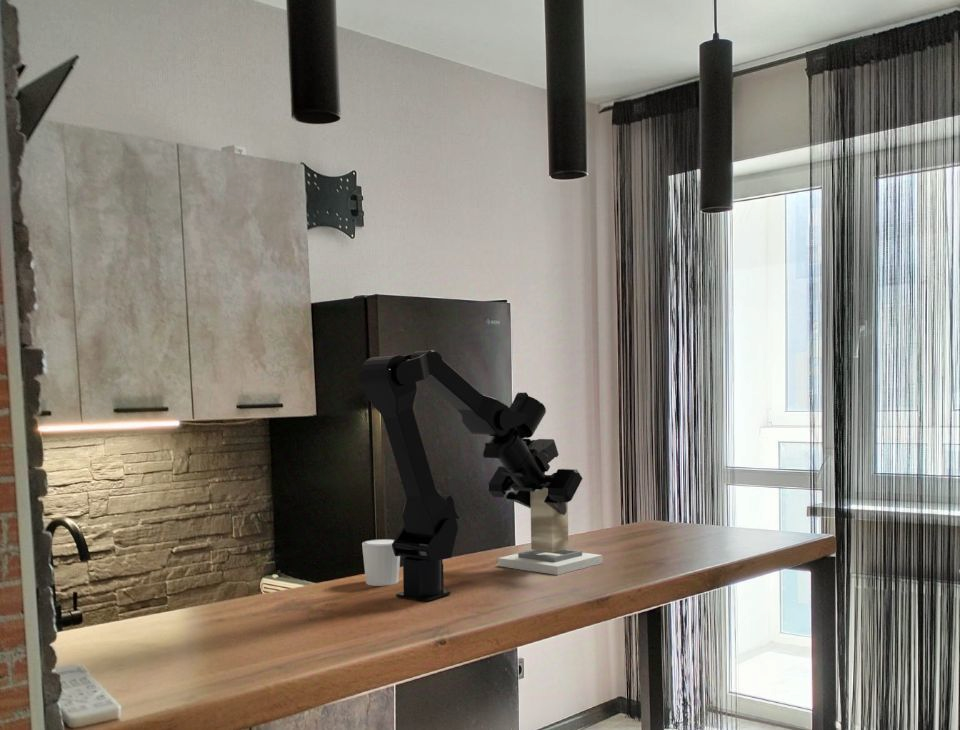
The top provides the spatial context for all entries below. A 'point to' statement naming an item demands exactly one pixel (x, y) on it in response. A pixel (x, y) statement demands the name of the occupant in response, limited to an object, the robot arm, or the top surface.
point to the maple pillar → (547, 524)
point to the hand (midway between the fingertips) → (553, 512)
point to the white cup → (380, 562)
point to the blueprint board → (550, 561)
